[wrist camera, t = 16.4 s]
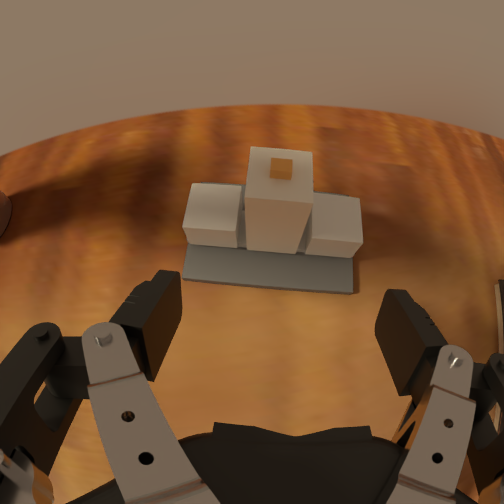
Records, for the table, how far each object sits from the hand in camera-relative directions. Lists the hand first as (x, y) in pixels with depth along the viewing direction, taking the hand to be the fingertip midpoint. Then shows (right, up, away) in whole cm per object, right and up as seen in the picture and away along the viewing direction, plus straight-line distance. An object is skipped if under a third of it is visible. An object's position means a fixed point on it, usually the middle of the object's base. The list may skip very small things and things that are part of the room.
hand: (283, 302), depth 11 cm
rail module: (+1, +4, +20) cm, 20 cm away
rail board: (+1, +4, +22) cm, 22 cm away
